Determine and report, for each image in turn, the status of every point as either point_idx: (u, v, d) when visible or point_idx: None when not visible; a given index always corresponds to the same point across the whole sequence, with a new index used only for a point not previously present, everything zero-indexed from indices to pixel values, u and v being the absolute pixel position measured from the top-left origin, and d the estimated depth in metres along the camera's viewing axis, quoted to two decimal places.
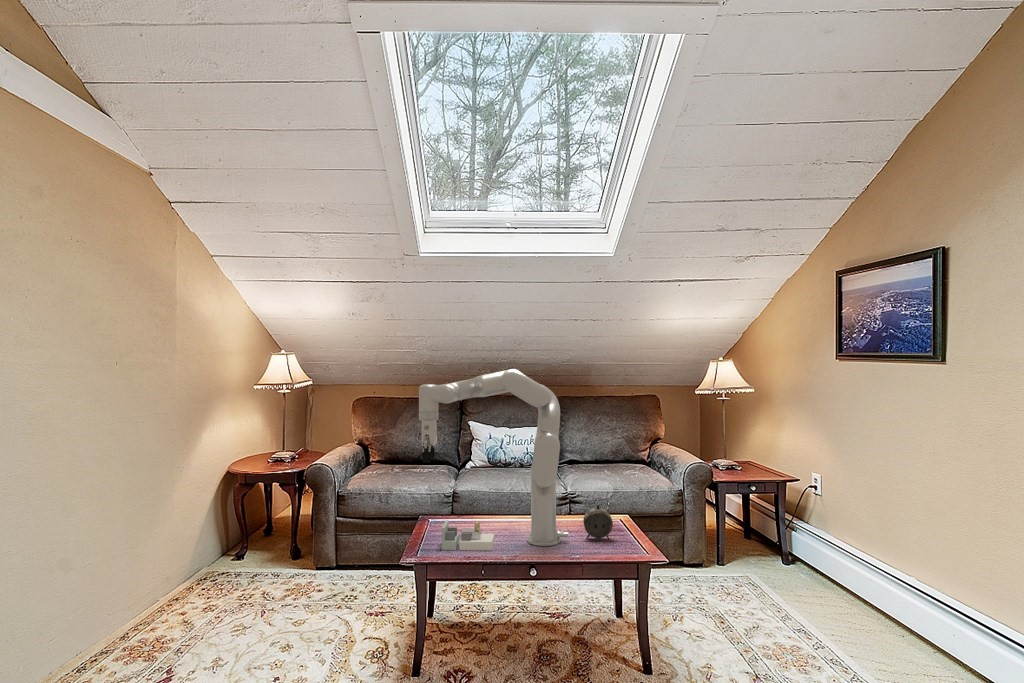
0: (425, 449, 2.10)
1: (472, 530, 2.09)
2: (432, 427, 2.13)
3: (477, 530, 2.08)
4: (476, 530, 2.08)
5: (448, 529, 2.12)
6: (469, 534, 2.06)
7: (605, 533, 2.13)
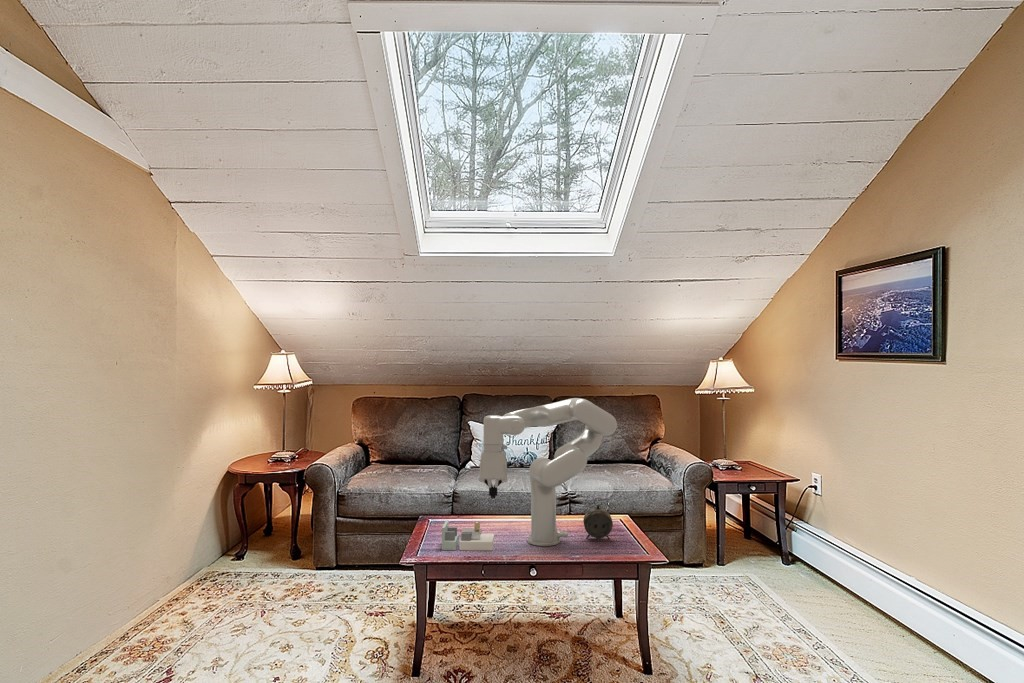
0: (500, 483, 2.10)
1: (472, 530, 2.09)
2: None
3: (477, 530, 2.08)
4: (476, 530, 2.08)
5: (448, 529, 2.12)
6: (469, 534, 2.06)
7: (605, 533, 2.13)
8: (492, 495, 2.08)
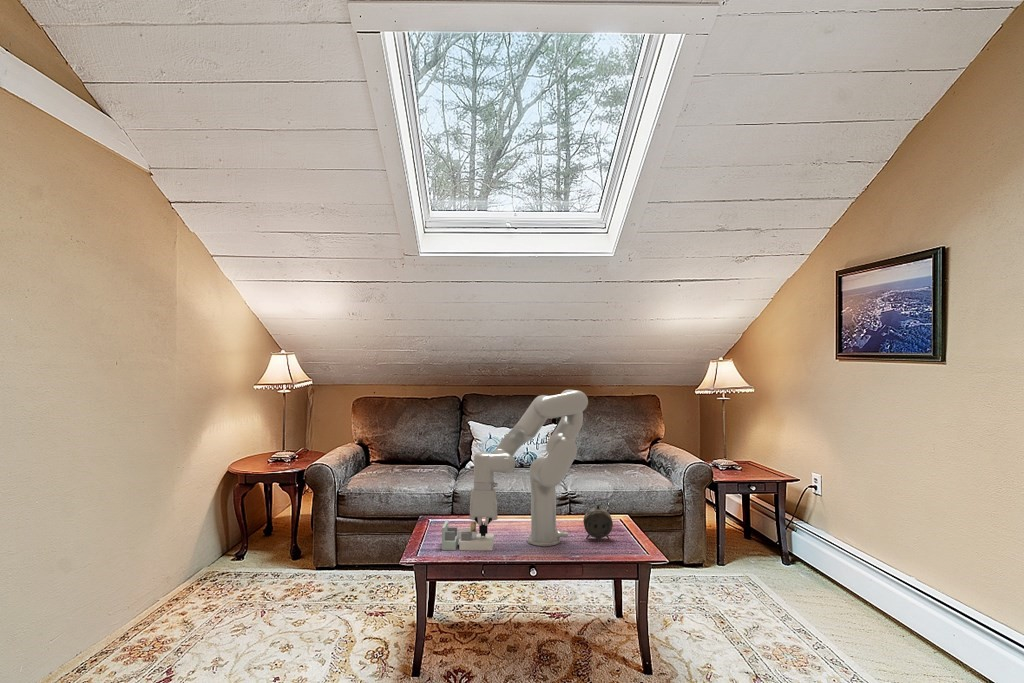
0: (490, 521, 2.09)
1: (468, 530, 2.09)
2: None
3: (473, 530, 2.08)
4: (472, 530, 2.08)
5: (448, 529, 2.12)
6: (469, 534, 2.06)
7: (605, 533, 2.13)
8: (482, 533, 2.08)
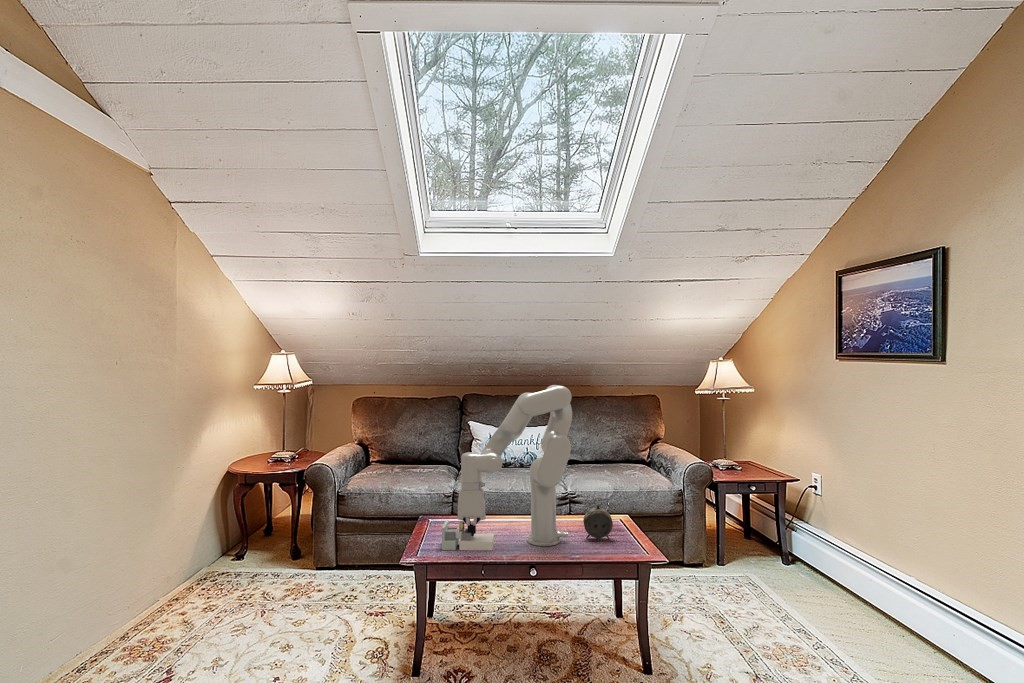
0: (478, 521, 2.09)
1: (457, 530, 2.10)
2: None
3: (461, 530, 2.09)
4: (460, 530, 2.09)
5: None
6: (469, 534, 2.06)
7: (605, 533, 2.13)
8: None
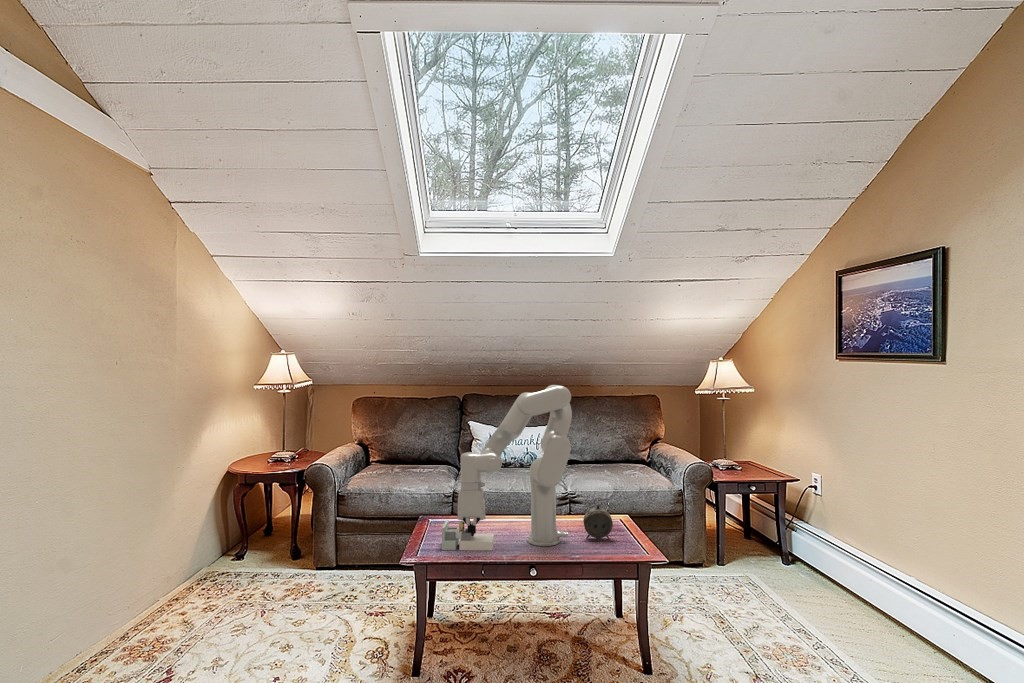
0: (478, 521, 2.09)
1: (457, 530, 2.10)
2: None
3: (461, 530, 2.09)
4: (460, 530, 2.09)
5: None
6: (469, 534, 2.06)
7: (605, 533, 2.13)
8: None
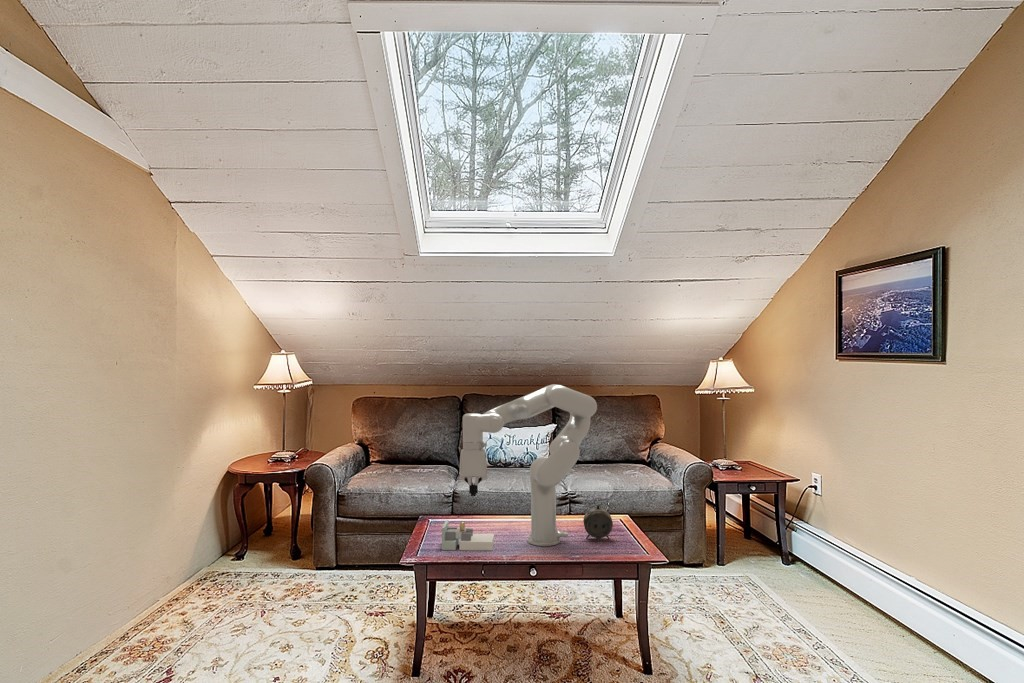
0: (480, 481, 2.10)
1: (457, 530, 2.10)
2: None
3: (462, 530, 2.09)
4: (461, 530, 2.09)
5: None
6: (469, 534, 2.06)
7: (605, 533, 2.13)
8: (472, 493, 2.09)
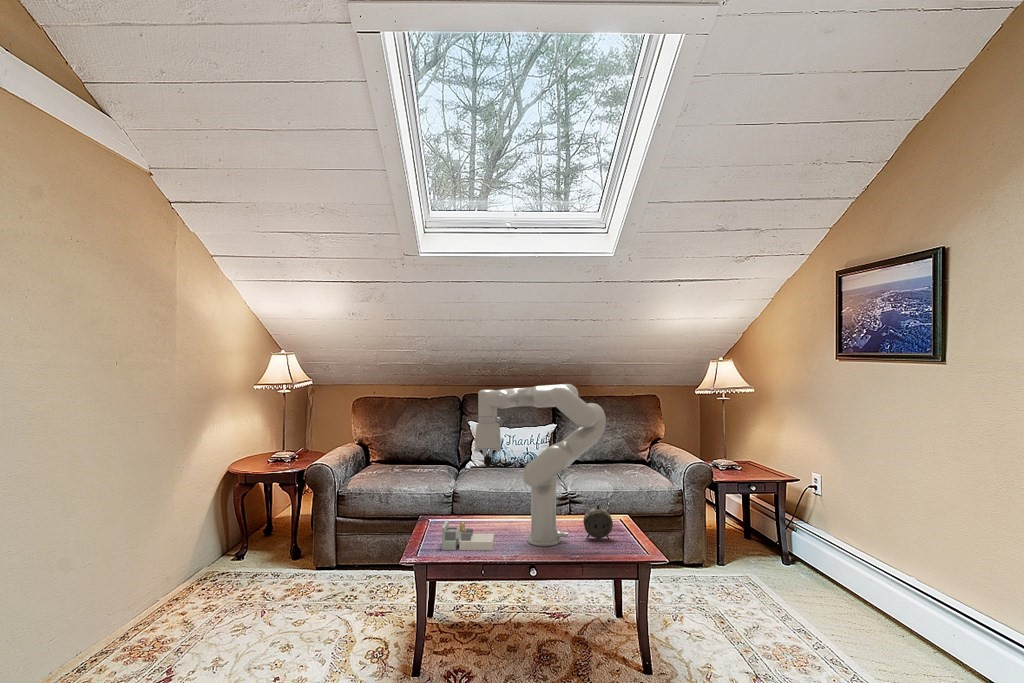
0: None
1: (457, 530, 2.10)
2: None
3: (462, 530, 2.09)
4: (461, 530, 2.09)
5: None
6: (469, 534, 2.06)
7: (605, 533, 2.13)
8: (487, 464, 2.23)
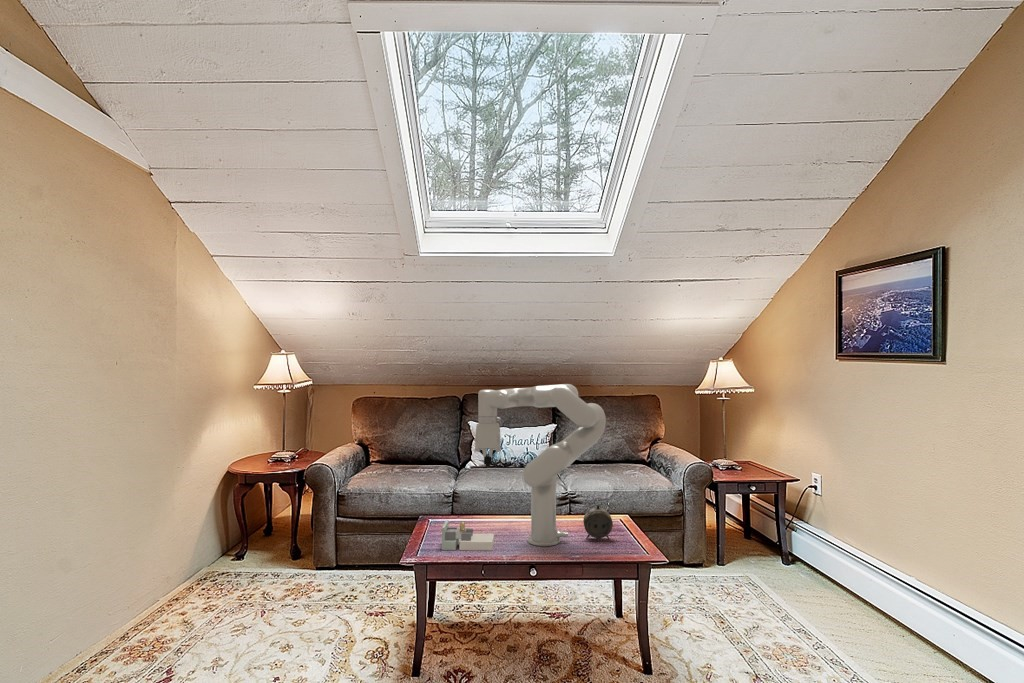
0: None
1: (457, 530, 2.10)
2: None
3: (462, 530, 2.09)
4: (461, 530, 2.09)
5: None
6: (469, 534, 2.06)
7: (605, 533, 2.13)
8: (487, 464, 2.23)
